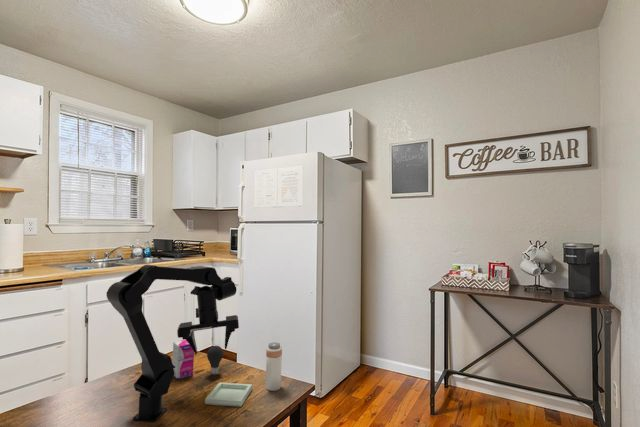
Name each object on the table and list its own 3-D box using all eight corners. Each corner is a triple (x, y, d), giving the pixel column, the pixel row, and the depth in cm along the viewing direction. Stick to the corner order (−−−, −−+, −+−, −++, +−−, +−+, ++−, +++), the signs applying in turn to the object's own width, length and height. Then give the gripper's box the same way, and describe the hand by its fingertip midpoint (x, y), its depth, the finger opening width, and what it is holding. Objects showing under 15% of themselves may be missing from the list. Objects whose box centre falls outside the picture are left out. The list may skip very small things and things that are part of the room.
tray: (241, 406, 102) (241, 401, 102) (205, 404, 103) (205, 398, 103) (251, 389, 112) (252, 384, 113) (219, 387, 114) (219, 382, 114)
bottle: (279, 391, 112) (280, 347, 112) (263, 390, 112) (264, 346, 113) (282, 384, 117) (283, 342, 117) (267, 383, 117) (268, 341, 118)
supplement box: (176, 380, 118) (177, 346, 119) (171, 374, 123) (172, 341, 123) (193, 375, 122) (194, 342, 123) (187, 370, 127) (189, 338, 127)
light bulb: (220, 377, 121) (220, 348, 121) (204, 377, 121) (204, 348, 121) (224, 371, 126) (225, 343, 127) (209, 370, 126) (210, 343, 127)
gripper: (236, 294, 122) (239, 336, 123) (179, 301, 118) (183, 345, 119) (236, 303, 112) (240, 350, 113) (175, 312, 107) (179, 360, 108)
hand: (211, 351), depth 113 cm, fingers open, 9 cm apart
